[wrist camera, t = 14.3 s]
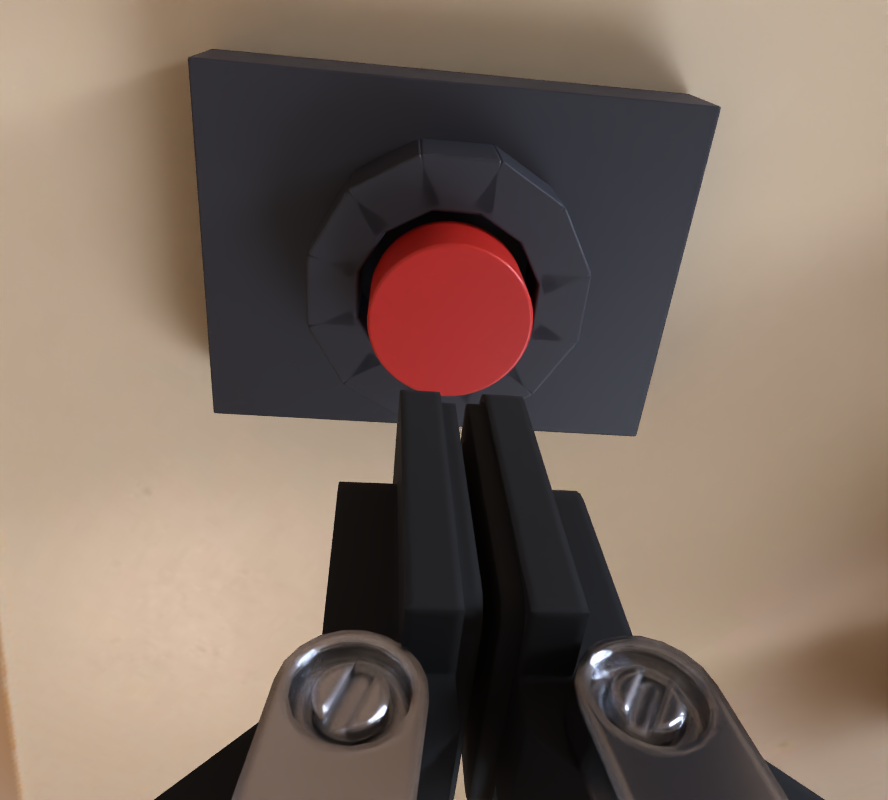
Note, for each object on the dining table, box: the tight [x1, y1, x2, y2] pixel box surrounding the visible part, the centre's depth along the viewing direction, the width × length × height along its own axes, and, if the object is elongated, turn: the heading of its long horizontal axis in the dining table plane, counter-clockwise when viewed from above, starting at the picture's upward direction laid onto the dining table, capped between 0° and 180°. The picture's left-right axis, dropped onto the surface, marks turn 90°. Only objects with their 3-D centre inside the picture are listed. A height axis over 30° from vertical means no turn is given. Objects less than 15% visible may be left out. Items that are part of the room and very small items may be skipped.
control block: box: [188, 49, 721, 436], centre depth 19 cm, size 12×9×4 cm
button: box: [367, 221, 533, 396], centre depth 17 cm, size 4×4×2 cm
